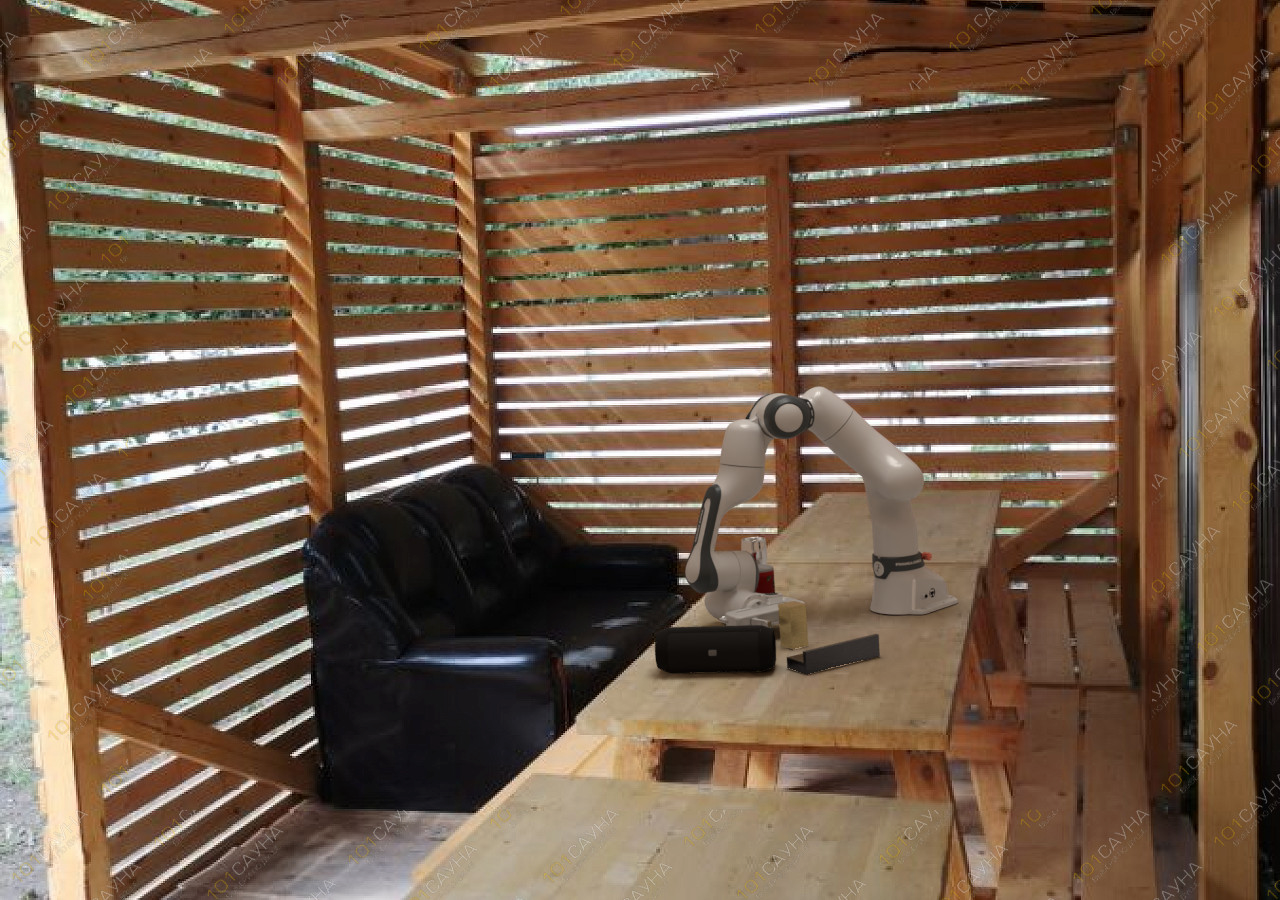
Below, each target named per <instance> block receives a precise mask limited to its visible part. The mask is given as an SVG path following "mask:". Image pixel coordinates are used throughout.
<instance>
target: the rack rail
mask: <svg viewBox="0 0 1280 900" xmlns="http://www.w3.org/2000/svg"><path fill="white" fill-rule="evenodd" d="M880 653H881V652H880V635H879V634H878V633H873V634H869V635H865V636H861V637H856V638H853V639H848V640H844V641H841V642H837V643H831V644H827V645H824V646H818V647H816V648H815V647H814V648H811V649H806V650H803V651H802V653H799V654H795V655H791V656H786V668H790V669H793V670H796V671H798V672H797V673H799V672H801V673H800V674H802V673H804V674H803V675H805V674H807V675H806V676H809V675H808V674H810V673H814V672H818V671H821V670H825V669H828V668H831V667H836V666H840V665H844V664H849V663H853V662H857V661H861V660H865V661H868V660H867V659H869V660H872V659H871V658H873V659H876V658H875V657H877V658H880V657H881V655H880ZM879 656H880V657H879ZM861 662H862V661H861ZM857 663H858V662H857ZM853 664H854V663H853ZM849 665H850V664H849ZM790 669H789V670H790ZM793 670H792V671H793ZM796 671H795V672H796ZM825 671H826V670H825ZM818 673H819V672H818ZM814 674H815V673H814ZM810 675H811V674H810Z"/></svg>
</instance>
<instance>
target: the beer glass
mask: <svg viewBox="0 0 1280 900" xmlns="http://www.w3.org/2000/svg"><path fill="white" fill-rule="evenodd" d="M740 547H741V548H740V549H741V550H740V551H747V552H749V553H750V554H751V555H752V556H753V557H754V559H755V560H756V562H757V565H759V564H764V565H768V549H767V540H766V537H765V536H748V537H744V538H741V545H740Z"/></svg>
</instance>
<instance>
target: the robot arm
mask: <svg viewBox="0 0 1280 900" xmlns="http://www.w3.org/2000/svg"><path fill="white" fill-rule="evenodd" d="M807 430H808V431H810V432H811V433H813V434H814V435H815V436H816V437H817V439H819V440H820V442H822V444H824V445H825V446H826V447H827V448H829V450H830V451H832V452H833V453H834V454H835V455H836V457H838V458H839V459H840V460H841V461H842V462H844V464H846V465H847V466H848V467H849V468H850V469H851V470H853V471H854V472H856V473H857V474H858V475H859V476H860V477H861V478H862V481H863V484H864V490H865V495H866V500H867V505H868V510H869V514H870V520H871V531H872V532H871V533H872V545H873V546H872V548H873V553H872V555H871V558H872V560H871V562H872V563H871V564H872V565H871V566H872V567H871V568H872V570H873V574H874V575H873V585H872V586H873V589H872V597H871V602H870V607H869V610H870V611H872V612H873V613H878V614H881V615H882V614H885V615H926V614H929V613H931V612H935V611H938V610H941V609H944V608H947V607H950V606H954V605H956V604H958V603H959V599H958V598H957V597H955V596H953V595H951V594H949V593H948V592H949V591H948V587H947V586H948V585H947V583H946V580H945V579H944V578H943V577H942V576H941V575H939V574H938V573H936V571H935V572H934V570H932V569H930V568H929V567H927V566H926V563H925V561H924V560H926V561H932V558H933V554H932V553H931V552H927V551H924V552H921V551H919V539H918V534H919V533H918V522H917V517H916V516H915V512H914V509H913V505H912V500H914V499H915V498H916V497H918V496H919V495H920V494H921V492H923V488H924V484H925V477H924V473H923V472H922V470H921V468H920V467H919V465H917V463H915V462H914V461H913V460H912V459H911V458H910V457H909V456H907V454H905V453H904V452H903V451H902V450H901V449H899V448H898V447H897V446H896V445H894V443H892V442H891V441H890V440H888V439H887V438H886V437H885V436H884V435H882V433H880V432H878V430H876V429H875V428H874V427H873V426H872V425H870V424H869V423H868V422H867V421H866V420H865V418H863V417H862V416H861V415H860V414H859V413H858V412H857V411H856V410H855V409H854V408H853V407H851V406H850V405H849V404H848V403H847V402H846V401H845V400H844V399H842V397H840V396H839V395H837V394H835V393H834V392H832V391H831V390H830V389H828V388H826V387H825V386H814V387H812V388H810V389H808V390H807V391H805V392H804V393H803V394H802V395H801V396H799V397H798V396H796V395H791V394H787V393H782V392H781V393H780V392H778V393H768V394H765V395H762V396H761V397H759V398H758V399H757V400H756V401H755V403H754V404H753V405H752V407H751V409H750V411H749V412H748V413H747V415H746V416H745V418H743V419H737V420H734V421H732V422H730V423H729V424H728V425H727V427H726V429H725V432H724V435H723V440H722V445H721V451H720V457H719V467H718V468H719V469H718V471H717V475H716V478H715V479H714V482H713V483H712V485H711V486H709V487H708V488H707V489H706V491H705V493H704V496H703V499H702V503H701V508H700V511H699V515H698V519H697V525H696V529H695V531H694V532H695V533H694V538H693V542H692V545H691V551H690V553H689V555H688V557H687V560H686V563H685V567H684V576H685V581H686V582H687V583H688V585H689V586H690V587H691V588H692V589H693V590H694V591H695V592H697V593H698V594H705V596H704V606H705V609H706V610H707V612H708V613H709V615H711V617H713V618H714V619H716V620H718V621H719V623H722V624H725V626H743V625H763V626H766V627H769V628H772V626H774V625H777V624H778V625H779V610H778V604H782V603H786V602H791V601H796V602H800V603H804V604H806V603H805V601H802V600H800V599H797V598H793V597H792V596H791V597H790V596H784V594H783V593H781V592H775V593H765V594H762V593H755V592H756V589H757V586H758V581H759V567H758V565H757V562H756V560H755V559H754V557H753V556H752V555H751V554H750V553H749V552H747V551H741V550H726V551H725V550H723V551H720V550H719V551H715V548H716V543H717V539H718V534H719V530H720V526H721V521H722V520H723V518H724V516H725V515H726V513H728V512H729V511H730V510H732V509H733V508H735V507H737V506H739V505H741V504H743V503H744V504H745V503H746V502H748V501H750V500H752V499H753V498H755V496H756V495H758V494H759V493H760V491H761V490H762V488H763V484H764V481H765V469H766V453H767V449H768V447H769V445H770V444H771V442H772V441H773V440H775V439H777V440H778V439H779V440H790V439H793V438H795V437H797V436H799V435H800V434H802V433H803V432H805V431H807Z"/></svg>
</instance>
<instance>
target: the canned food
mask: <svg viewBox="0 0 1280 900" xmlns="http://www.w3.org/2000/svg"><path fill="white" fill-rule="evenodd" d="M758 567H759V581H758V586H757V589H756V592H755V593H762V594H765V593H776V586H775V584H776V583H775V569H774V566H773V565H771V564H767V565H764V564H759V565H758Z"/></svg>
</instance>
